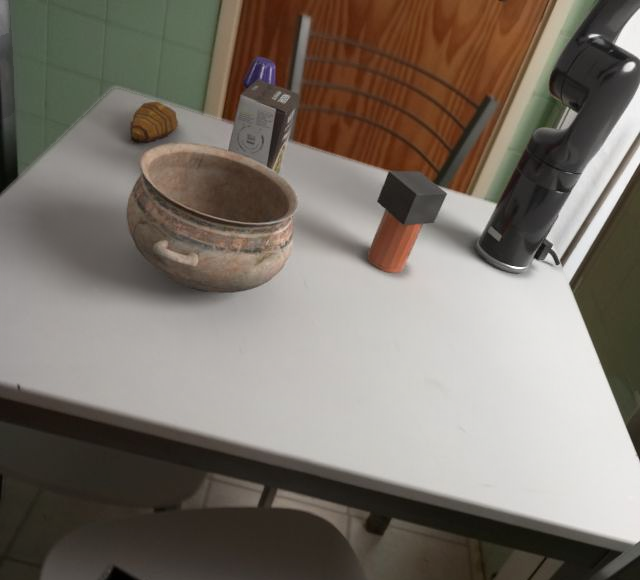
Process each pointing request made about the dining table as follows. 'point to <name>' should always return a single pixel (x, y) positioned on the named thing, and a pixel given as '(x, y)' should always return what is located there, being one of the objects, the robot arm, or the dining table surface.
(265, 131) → the coffee box
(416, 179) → the block
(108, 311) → the dining table surface
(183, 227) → the cooking pot
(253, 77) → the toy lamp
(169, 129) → the croissant
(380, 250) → the cup
